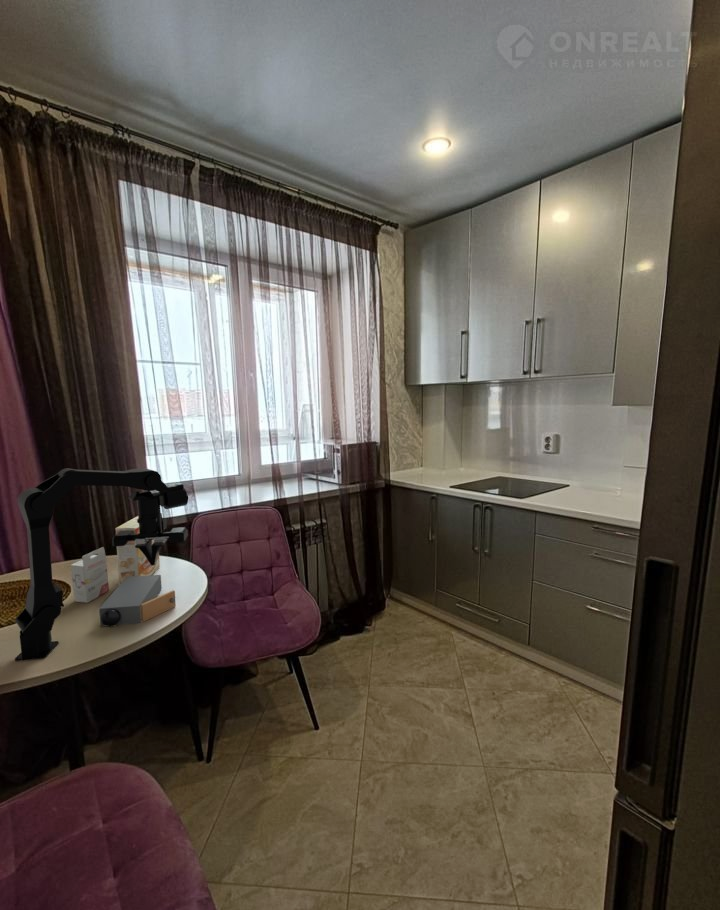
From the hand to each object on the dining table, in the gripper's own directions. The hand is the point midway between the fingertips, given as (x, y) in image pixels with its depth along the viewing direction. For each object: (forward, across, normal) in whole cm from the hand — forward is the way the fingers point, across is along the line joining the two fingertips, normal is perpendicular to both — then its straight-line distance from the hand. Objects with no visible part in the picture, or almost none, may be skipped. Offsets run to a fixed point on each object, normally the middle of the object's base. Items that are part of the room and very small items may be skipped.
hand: (153, 565), depth 120 cm
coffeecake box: (+14, +12, -24) cm, 30 cm away
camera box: (+13, +7, -2) cm, 15 cm away
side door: (+13, -2, +4) cm, 14 cm away
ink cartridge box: (+13, +22, -11) cm, 28 cm away
